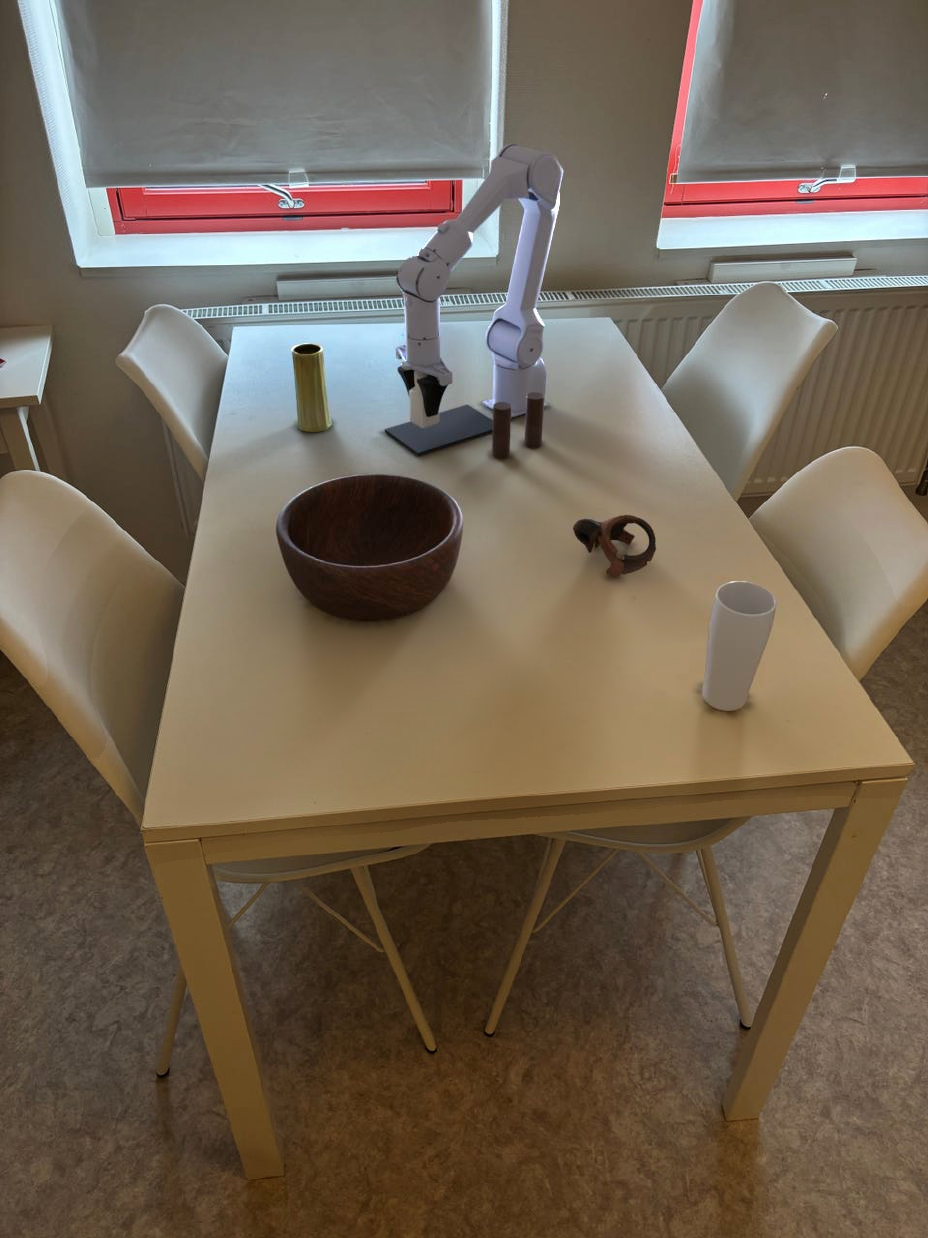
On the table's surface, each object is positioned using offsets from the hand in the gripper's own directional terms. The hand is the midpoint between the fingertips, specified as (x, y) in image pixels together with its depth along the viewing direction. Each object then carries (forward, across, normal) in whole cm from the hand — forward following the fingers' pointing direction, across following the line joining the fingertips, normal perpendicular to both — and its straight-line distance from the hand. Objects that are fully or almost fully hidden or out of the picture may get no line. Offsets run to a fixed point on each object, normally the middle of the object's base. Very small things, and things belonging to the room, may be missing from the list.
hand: (424, 410), depth 167 cm
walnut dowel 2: (+5, +13, +14) cm, 20 cm away
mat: (+5, 0, +4) cm, 6 cm away
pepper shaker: (+3, 0, 0) cm, 3 cm away
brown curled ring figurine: (+5, +48, +1) cm, 48 cm away
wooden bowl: (+5, +33, -30) cm, 45 cm away
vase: (+5, -15, -14) cm, 21 cm away
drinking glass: (+5, +78, -8) cm, 79 cm away
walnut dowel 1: (+5, +13, +7) cm, 16 cm away
